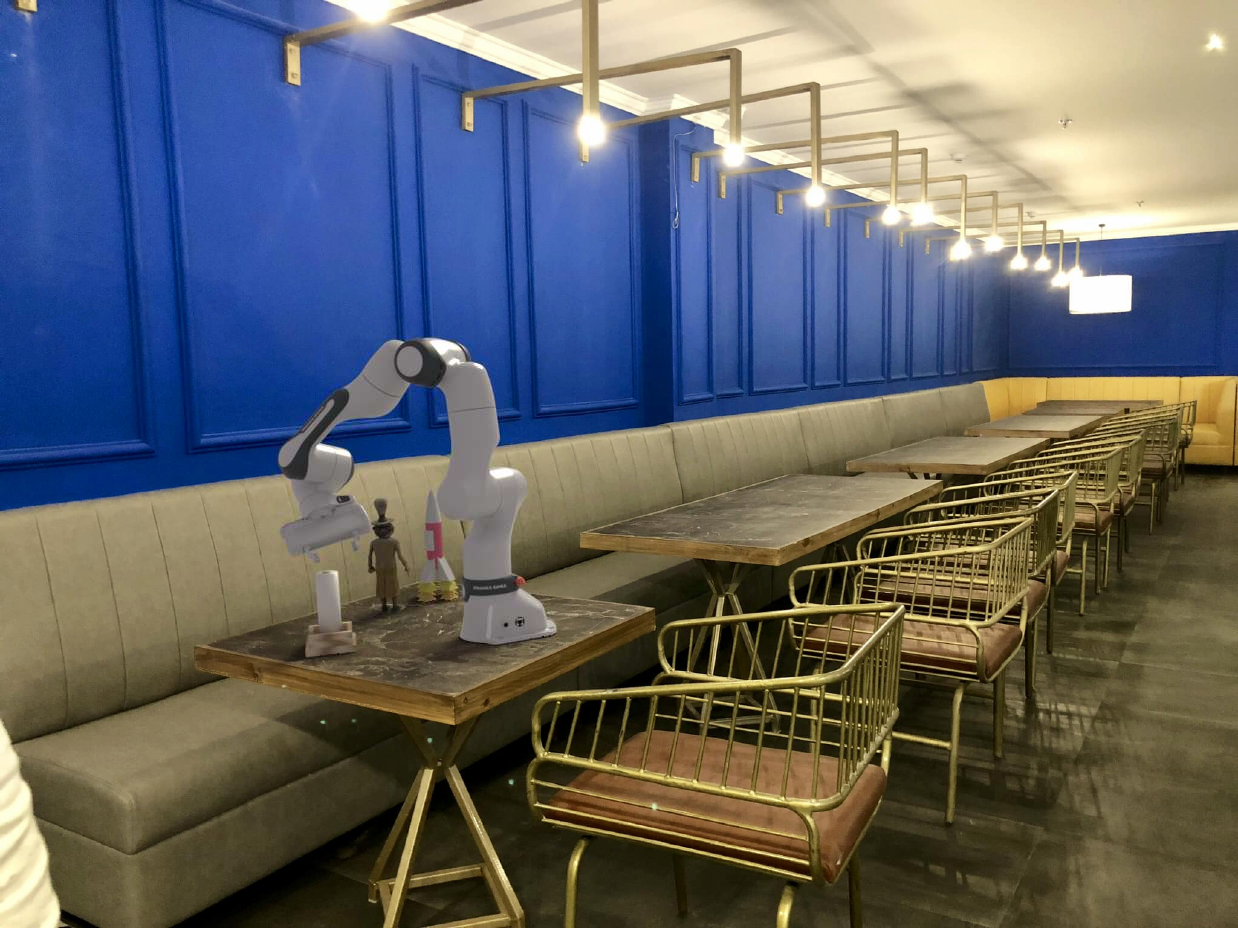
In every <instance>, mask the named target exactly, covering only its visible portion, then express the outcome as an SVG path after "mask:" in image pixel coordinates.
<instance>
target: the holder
mask: <svg viewBox="0 0 1238 928" xmlns="http://www.w3.org/2000/svg"><path fill="white" fill-rule="evenodd" d="M341 622H342V632H332V633H323V634H319V624H313V625H308V631H307V632H308V633H307V637H306V639H305V640H306V642H305V650H304V651H305V658H312V657H320V655H321V656H330V655H338V654H337V653H339V654H347V652H348V653H356V652H358V649H357V647H358V645H357V633H356V632H353V623H352V621H351V620H350V621H341ZM329 654H330V655H329Z"/></svg>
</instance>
